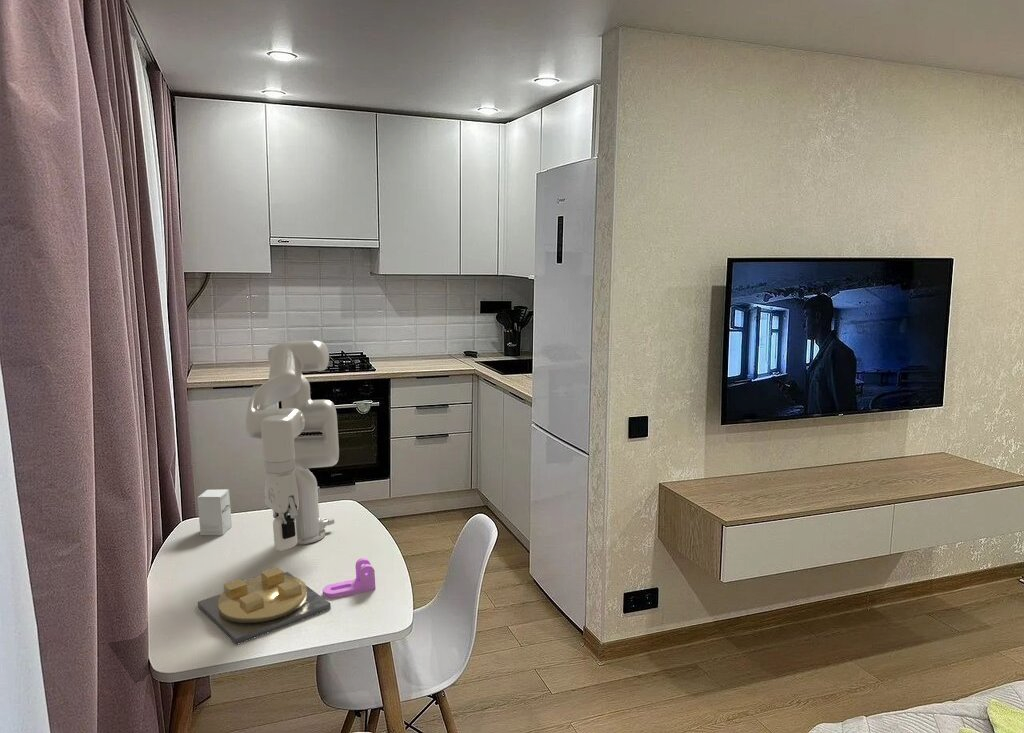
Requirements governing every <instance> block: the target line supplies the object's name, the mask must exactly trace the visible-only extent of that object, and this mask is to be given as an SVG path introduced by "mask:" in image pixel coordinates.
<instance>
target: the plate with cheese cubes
mask: <svg viewBox="0 0 1024 733" xmlns="http://www.w3.org/2000/svg"><path fill="white" fill-rule="evenodd" d="M284 573H285V572H284V571H283V570H281V569H280V568H279V567H277V566H274V567H273V568H269V569H266V570H264V571H260V576H255V577H250V578H248V579H245V580H243V579H241V578H238V579H235V580H233V581H229V582H226V583H223V584H222V585H223V592H222V593H220V594H221V595H220V597H219V599H218V607H219V613H220V615H221V616H222V617H224V618H225V619H227V620H230V621H233V622H239V623H258V622H265V621H270V620H274V619H277V618H280V617H283V616H285V615H288V614H290V613H292V612H293V611H295V610H297V609H298V608H299V607H301V606H302V605H303V603H304V602H305V601H306V598H307V589H306V586H307V585H306V582H305V581H303V580H302V579H301V578H298V577H297V576H296V577H295V576H294V575H292V576H288V575H284ZM293 576H294V577H293Z"/></svg>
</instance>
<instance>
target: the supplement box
mask: <svg viewBox="0 0 1024 733" xmlns="http://www.w3.org/2000/svg"><path fill="white" fill-rule="evenodd" d="M196 498H197V500H196V501H197V509H198V510H197V511H198V520H199V521H198V522H199V530H200V531H199V532H200V536H224V535H225V534H226V533H227V531H228V530H229V529H230V528H232V526H233V523H232V511H231V499H230V489H228V488H227V489H226V488H225V489H224V488H223V489H222V488H221V489H206V490H205V491H203V492H201V494H200V495H199V496H197V497H196Z"/></svg>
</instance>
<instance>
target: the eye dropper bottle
mask: <svg viewBox="0 0 1024 733" xmlns="http://www.w3.org/2000/svg"><path fill="white" fill-rule="evenodd" d="M287 510H288V509H287ZM287 515H289V513H288V514H286V517H287ZM282 524H283V520H282V514H279V516H278V517H276V518H275V519H274V518H273V521H272V530H273V543H274V549H276V550H277V551H286V550H288V549H291V548H293V547H295V546H297V545H296V544H297V532H296V520H295V536H294V537H291V538H287V539H283V537H282Z"/></svg>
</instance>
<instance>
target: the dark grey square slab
mask: <svg viewBox="0 0 1024 733" xmlns="http://www.w3.org/2000/svg"><path fill="white" fill-rule="evenodd" d="M284 575H288V576H293V577H295V576H294V575H293V574H291V573H289V572H288V571H285V572H284ZM306 589H307V598H306V601H305V602H304V603H303V605H302V606H301V607H299V608H298V609H297V610H295V611H293V612H292V613H290V614H288V615H285V616H283V617H280V618H277V619H274V620H270V621H265V622H258V623H239V622H233V621H230V620H227V619H225V618H224V617H222V616H221V615H220V613H219V607H218V599H219V597H220V595H221V594H222V593H219V594H217V595H214V596H211V597H207V598H205V599H202V600H198V601H197V608H198V609H200V611H202V613H203V614H204V615H206V617H207V618H208V619H209V620H210V621H211V622H212V621H213V622H214V623H215V624H216V625H217V626H218V627H219V628H220V629H221V630H222V631H223V632H224V633H225V634H226V635H227V636H228V637H229V638H230V639H231V640H232V641H233V642H234V643H235V644H237V645H239V644H238V643H240V644H242V643H241V642H243V643H245V642H247V641H246V640H248V641H250V640H249V639H251V640H253V639H255V638H254V637H256V638H258V637H261V636H263V635H262V634H264V635H266V634H268V633H267V632H269V633H271V632H275V631H276V629H277V630H279V629H282V628H284V627H286V626H289V625H291V624H294V623H297V622H300V621H303V620H305V619H308V618H310V616H311V617H312V615H313V616H315V614H316V615H317V613H318V614H321V613H323V611H324V612H327V611H329V610H331V609H332V608H331V607H332V606H331V602H329V601H328V600H327V599H326V598H325V597H324V596H322V595H320V594H319V593H317V592H316V591H314V590H313V589H311V587H309V586H308V585H306ZM320 612H321V613H320ZM307 617H308V618H307ZM302 619H303V620H302ZM213 622H212V623H213ZM214 623H213V624H214ZM215 624H214V625H215ZM218 627H217V628H218ZM220 629H219V630H220ZM221 630H220V631H221ZM222 631H221V632H222ZM223 632H222V633H223ZM224 633H223V634H224ZM265 633H266V634H265ZM225 634H224V635H225ZM226 635H225V636H226ZM260 635H261V636H260ZM227 636H226V637H227ZM257 636H258V637H257ZM228 637H227V638H228ZM229 638H228V639H229ZM252 638H253V639H252ZM230 639H229V640H230ZM231 640H230V641H231ZM232 641H231V642H232ZM244 641H245V642H244ZM233 642H232V643H233ZM234 643H233V644H234Z"/></svg>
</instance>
